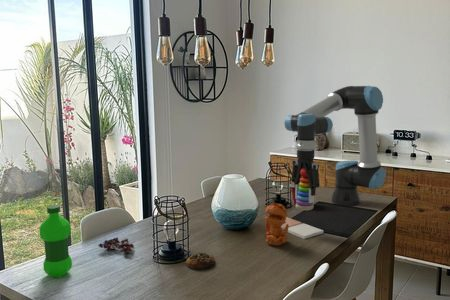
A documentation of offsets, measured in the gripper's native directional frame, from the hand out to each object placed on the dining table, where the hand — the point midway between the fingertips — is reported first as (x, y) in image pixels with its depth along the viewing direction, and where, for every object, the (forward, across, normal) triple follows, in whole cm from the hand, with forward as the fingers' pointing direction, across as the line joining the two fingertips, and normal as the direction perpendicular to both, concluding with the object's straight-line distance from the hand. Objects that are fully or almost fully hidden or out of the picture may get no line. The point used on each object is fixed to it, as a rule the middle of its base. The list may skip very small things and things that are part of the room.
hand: (304, 200), depth 192 cm
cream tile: (+15, 0, 0) cm, 15 cm away
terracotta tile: (+15, -14, 0) cm, 20 cm away
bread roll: (+16, +1, -55) cm, 57 cm away
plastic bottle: (+15, -22, -101) cm, 104 cm away
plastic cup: (+15, -31, +28) cm, 44 cm away
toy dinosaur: (+15, +2, -19) cm, 24 cm away
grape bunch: (+16, -31, -75) cm, 82 cm away
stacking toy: (+4, 0, 0) cm, 4 cm away
